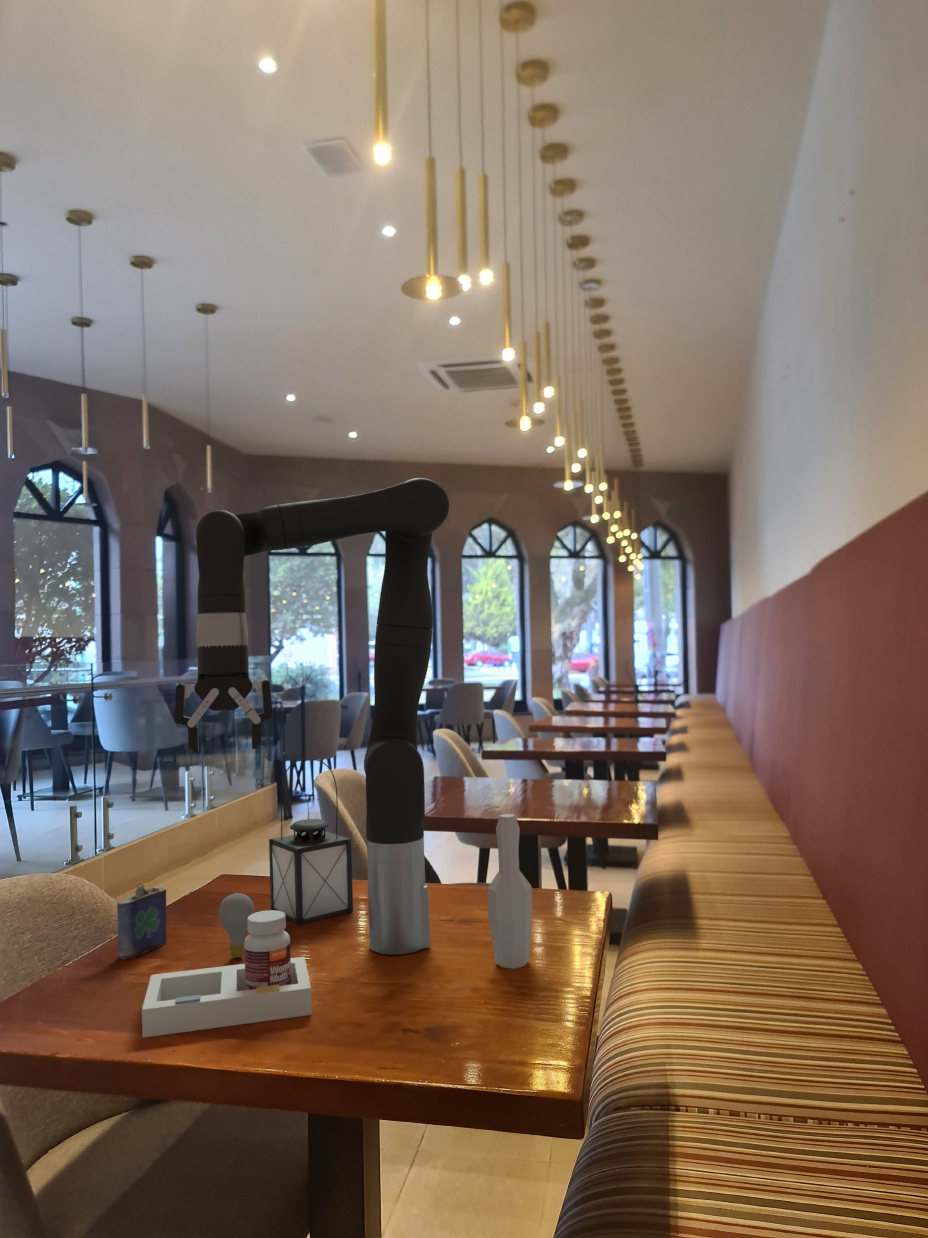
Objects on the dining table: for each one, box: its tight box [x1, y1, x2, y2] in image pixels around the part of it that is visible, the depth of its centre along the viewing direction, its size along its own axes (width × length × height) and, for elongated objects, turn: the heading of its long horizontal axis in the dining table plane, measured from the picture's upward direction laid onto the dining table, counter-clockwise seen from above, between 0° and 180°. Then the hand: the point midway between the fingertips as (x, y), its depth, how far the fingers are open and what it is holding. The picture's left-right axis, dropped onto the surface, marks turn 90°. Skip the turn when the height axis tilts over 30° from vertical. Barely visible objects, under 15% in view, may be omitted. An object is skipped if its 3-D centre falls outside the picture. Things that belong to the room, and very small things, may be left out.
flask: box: [116, 882, 167, 961], centre depth 142 cm, size 9×3×11 cm, turn 151°
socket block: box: [141, 956, 312, 1039], centre depth 118 cm, size 21×12×4 cm, turn 104°
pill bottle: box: [244, 909, 291, 990], centre depth 120 cm, size 6×6×11 cm
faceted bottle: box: [487, 813, 533, 970], centre depth 131 cm, size 6×6×22 cm
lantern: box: [268, 757, 354, 926], centre depth 160 cm, size 11×11×28 cm
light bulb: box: [218, 892, 255, 959], centre depth 137 cm, size 6×6×10 cm
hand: (225, 750), depth 132 cm, fingers open, 8 cm apart
